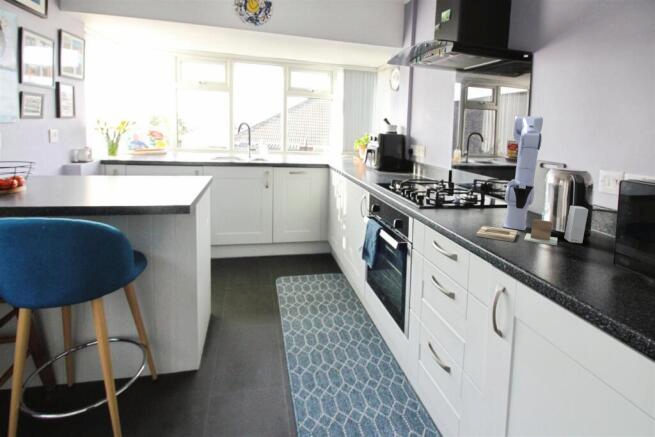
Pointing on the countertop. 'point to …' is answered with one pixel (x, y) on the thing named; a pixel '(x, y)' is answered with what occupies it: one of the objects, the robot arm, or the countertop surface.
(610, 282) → the countertop surface
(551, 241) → the sage tile
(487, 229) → the pocket plate
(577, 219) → the skincare box
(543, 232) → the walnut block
